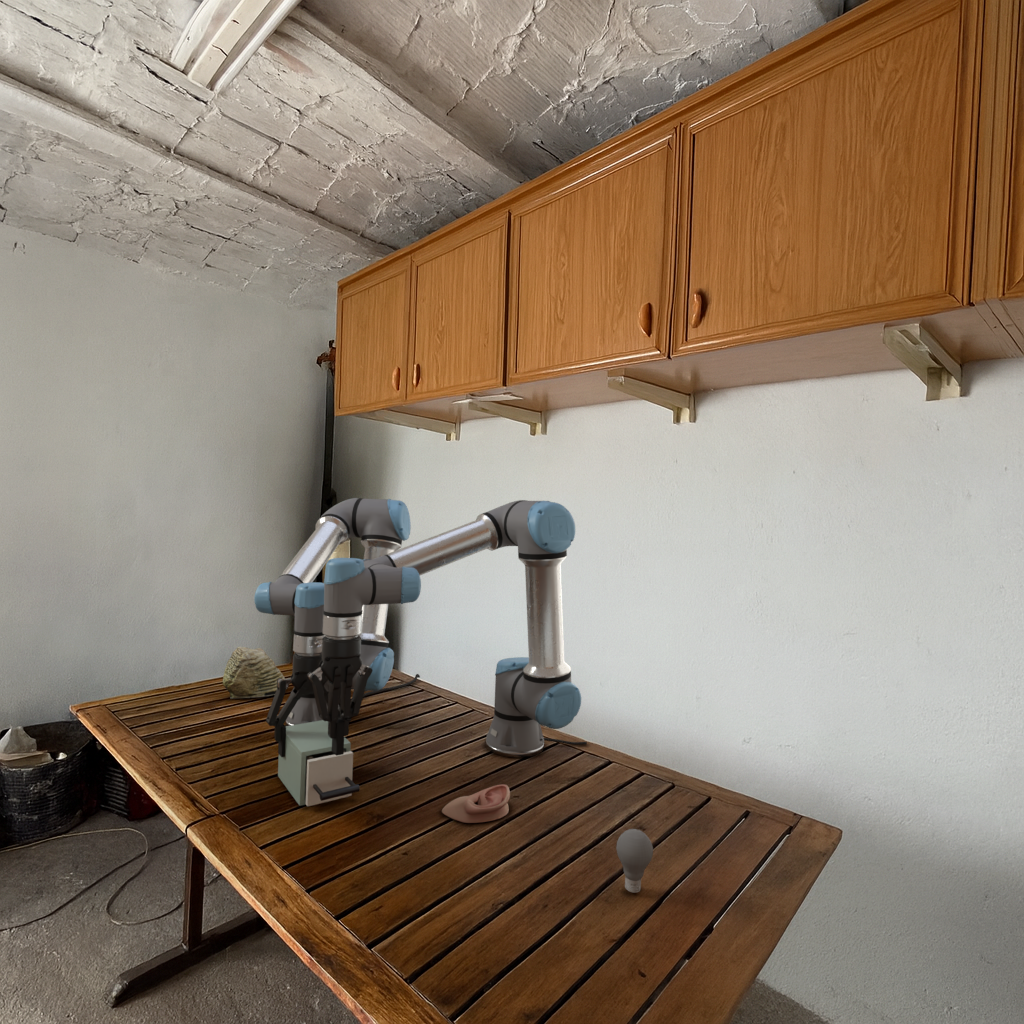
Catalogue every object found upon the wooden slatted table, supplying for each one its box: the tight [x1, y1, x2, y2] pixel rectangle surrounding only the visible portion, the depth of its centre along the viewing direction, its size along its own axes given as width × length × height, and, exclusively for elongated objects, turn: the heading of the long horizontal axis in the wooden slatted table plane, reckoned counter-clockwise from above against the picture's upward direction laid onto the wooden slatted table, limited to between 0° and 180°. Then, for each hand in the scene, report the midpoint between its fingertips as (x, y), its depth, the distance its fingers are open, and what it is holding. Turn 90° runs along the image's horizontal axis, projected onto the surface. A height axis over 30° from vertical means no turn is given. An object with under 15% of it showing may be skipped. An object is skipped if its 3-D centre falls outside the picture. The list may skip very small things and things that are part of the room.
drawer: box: [305, 750, 361, 807], centre depth 134 cm, size 21×9×9 cm, turn 36°
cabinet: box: [277, 720, 352, 807], centre depth 139 cm, size 16×10×11 cm, turn 36°
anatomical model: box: [441, 784, 511, 824], centre depth 131 cm, size 13×4×12 cm
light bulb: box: [615, 828, 654, 894], centre depth 106 cm, size 6×6×10 cm
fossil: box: [222, 646, 286, 699], centre depth 198 cm, size 9×18×15 cm, turn 132°
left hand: (307, 749), depth 143 cm, fingers closed on cabinet, 10 cm apart
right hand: (337, 752), depth 127 cm, fingers closed
